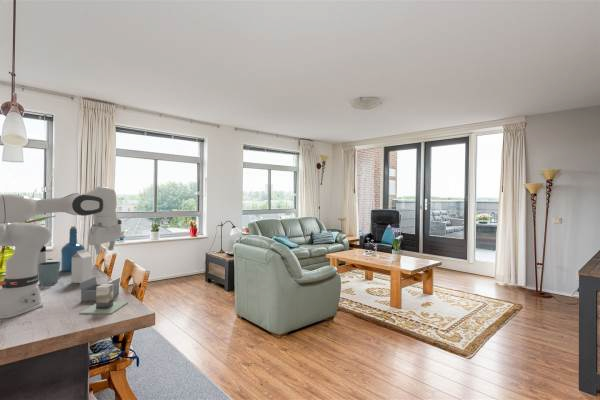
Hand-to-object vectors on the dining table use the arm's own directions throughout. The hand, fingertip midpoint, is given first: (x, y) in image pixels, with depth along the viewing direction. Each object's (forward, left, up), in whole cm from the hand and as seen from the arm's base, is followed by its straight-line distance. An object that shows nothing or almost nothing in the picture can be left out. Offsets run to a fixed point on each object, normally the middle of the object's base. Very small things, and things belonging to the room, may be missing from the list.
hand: (105, 252), depth 146 cm
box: (0, 0, -26) cm, 26 cm away
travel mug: (+52, +69, -26) cm, 90 cm away
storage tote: (+16, +11, -26) cm, 33 cm away
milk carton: (+45, +39, -26) cm, 65 cm away
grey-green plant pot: (+41, +55, -26) cm, 74 cm away
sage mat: (0, 0, -26) cm, 26 cm away
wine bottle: (+75, +64, -26) cm, 102 cm away
